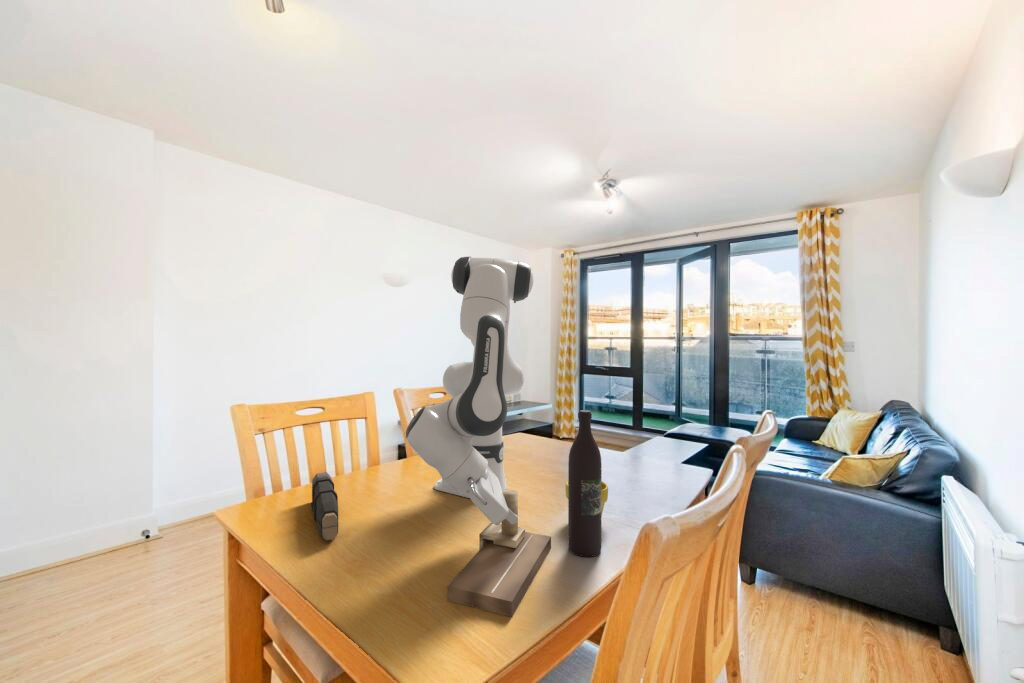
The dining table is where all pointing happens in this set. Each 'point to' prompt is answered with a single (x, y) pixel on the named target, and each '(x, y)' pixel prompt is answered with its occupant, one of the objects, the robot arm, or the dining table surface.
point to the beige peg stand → (504, 526)
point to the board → (500, 575)
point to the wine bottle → (584, 491)
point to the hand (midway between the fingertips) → (513, 515)
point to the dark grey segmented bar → (325, 505)
